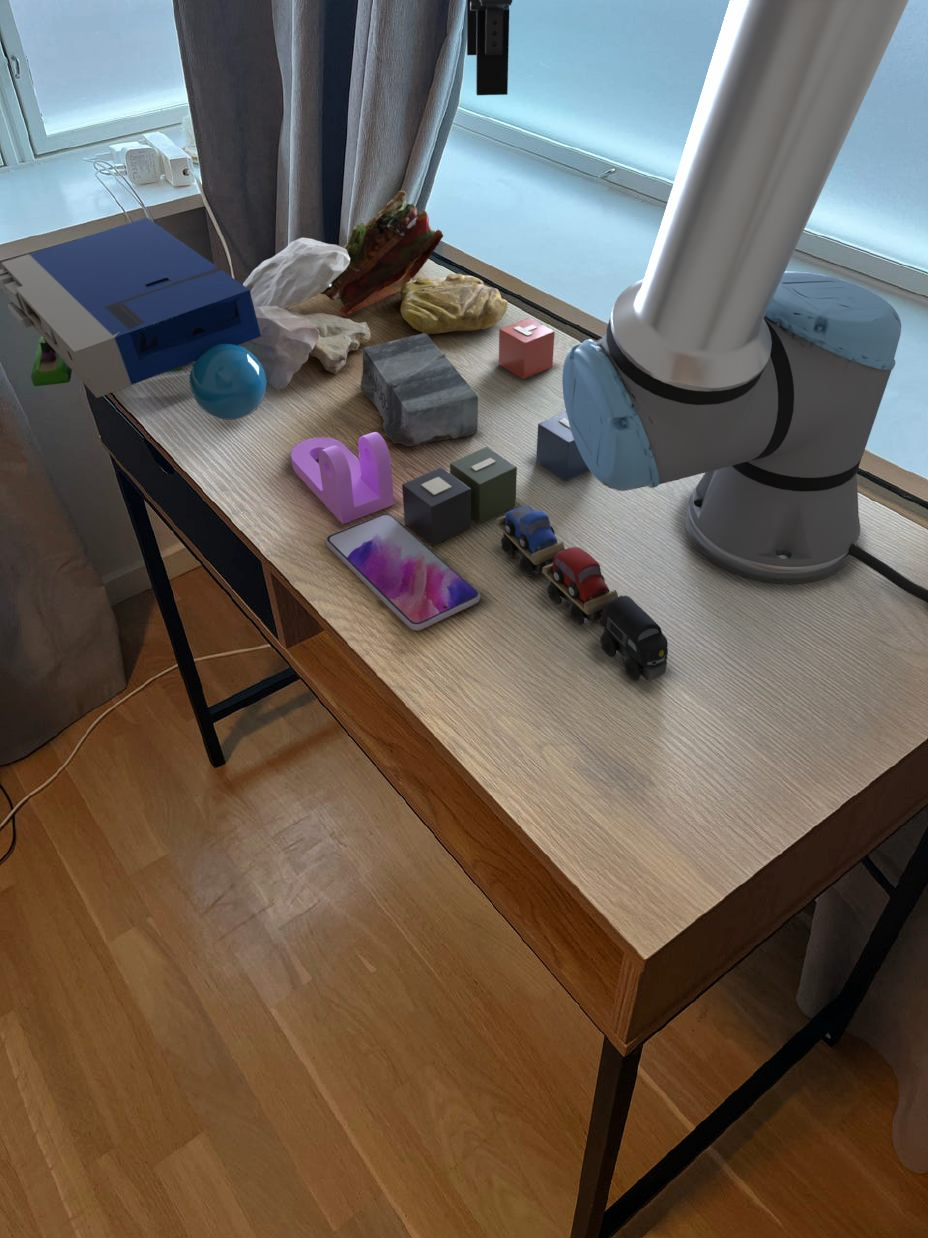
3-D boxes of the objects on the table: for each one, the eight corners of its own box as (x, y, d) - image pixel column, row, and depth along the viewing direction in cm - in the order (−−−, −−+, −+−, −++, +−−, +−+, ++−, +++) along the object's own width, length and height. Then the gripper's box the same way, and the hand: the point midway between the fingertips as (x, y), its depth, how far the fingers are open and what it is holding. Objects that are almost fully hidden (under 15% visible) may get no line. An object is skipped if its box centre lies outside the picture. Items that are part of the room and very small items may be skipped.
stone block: (399, 455, 100) (396, 411, 96) (354, 390, 109) (349, 348, 106) (478, 435, 102) (478, 391, 98) (427, 373, 112) (425, 331, 108)
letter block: (552, 367, 113) (554, 330, 110) (523, 379, 111) (524, 342, 108) (527, 352, 115) (528, 316, 112) (498, 364, 113) (499, 327, 110)
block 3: (598, 465, 98) (602, 426, 95) (565, 481, 96) (568, 442, 93) (568, 446, 100) (571, 407, 97) (535, 461, 98) (537, 422, 95)
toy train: (637, 694, 75) (645, 647, 71) (485, 541, 89) (486, 496, 85) (675, 675, 76) (685, 628, 73) (520, 528, 90) (521, 483, 87)
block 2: (515, 506, 93) (517, 466, 90) (479, 523, 91) (479, 483, 88) (486, 484, 96) (486, 445, 92) (450, 501, 94) (449, 461, 90)
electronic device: (261, 336, 104) (156, 256, 123) (249, 289, 100) (143, 214, 119) (85, 402, 96) (3, 306, 115) (66, 354, 93) (-16, 263, 112)
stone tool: (336, 341, 111) (243, 296, 117) (320, 316, 107) (225, 270, 112) (291, 402, 110) (199, 354, 115) (273, 379, 105) (179, 330, 111)
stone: (395, 348, 113) (318, 356, 108) (390, 375, 116) (315, 384, 110) (344, 296, 120) (269, 301, 115) (340, 322, 123) (267, 328, 118)
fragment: (275, 267, 130) (254, 234, 127) (391, 240, 118) (371, 203, 115) (219, 338, 123) (195, 305, 119) (336, 317, 111) (313, 280, 108)
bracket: (393, 504, 93) (389, 443, 88) (342, 524, 91) (335, 462, 86) (332, 443, 101) (324, 383, 96) (283, 459, 99) (273, 399, 94)
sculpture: (407, 316, 114) (387, 268, 125) (409, 344, 117) (388, 294, 128) (515, 305, 116) (485, 259, 127) (514, 332, 119) (485, 285, 130)
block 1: (471, 528, 90) (471, 487, 87) (432, 546, 88) (431, 506, 85) (442, 505, 93) (441, 465, 90) (404, 523, 91) (401, 483, 88)
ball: (222, 447, 104) (283, 411, 102) (172, 395, 98) (235, 356, 96) (222, 404, 109) (279, 369, 107) (174, 353, 104) (234, 314, 102)
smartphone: (388, 510, 91) (484, 594, 82) (388, 517, 92) (483, 602, 83) (321, 537, 88) (413, 628, 79) (322, 544, 88) (413, 635, 80)
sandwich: (465, 232, 123) (428, 178, 122) (419, 245, 113) (378, 186, 112) (383, 309, 133) (349, 259, 132) (335, 327, 123) (297, 274, 122)
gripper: (435, -236, 85) (440, 40, 99) (448, -222, 66) (452, 114, 81) (520, -237, 85) (513, 38, 99) (557, -223, 67) (541, 112, 81)
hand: (486, 73), depth 90 cm, fingers open, 13 cm apart
